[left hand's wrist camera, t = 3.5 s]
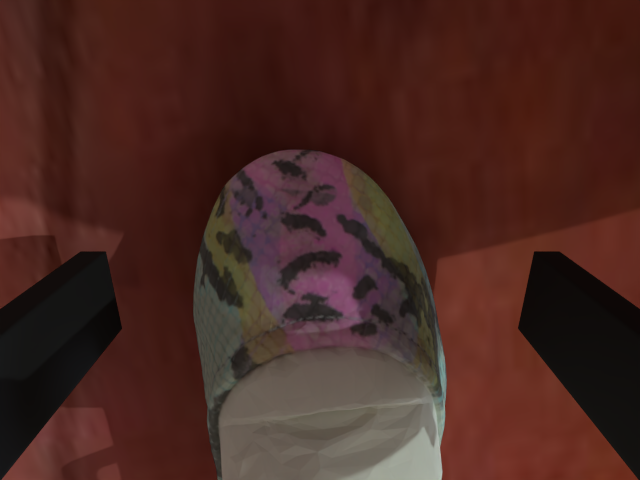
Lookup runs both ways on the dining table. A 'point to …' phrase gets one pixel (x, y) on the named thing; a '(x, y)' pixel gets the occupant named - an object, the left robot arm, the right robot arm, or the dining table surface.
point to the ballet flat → (316, 328)
